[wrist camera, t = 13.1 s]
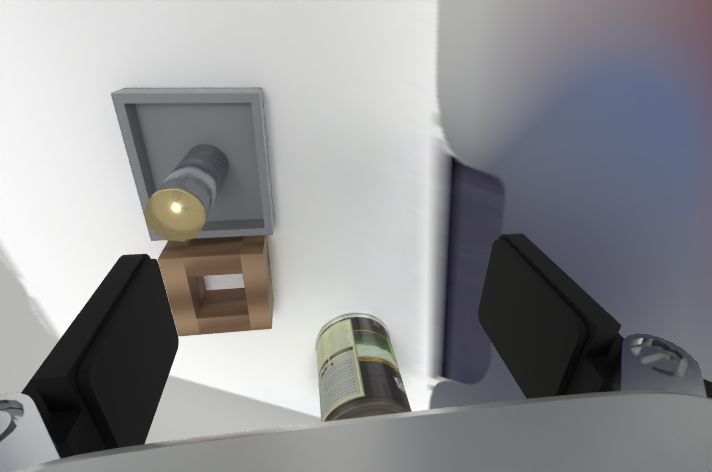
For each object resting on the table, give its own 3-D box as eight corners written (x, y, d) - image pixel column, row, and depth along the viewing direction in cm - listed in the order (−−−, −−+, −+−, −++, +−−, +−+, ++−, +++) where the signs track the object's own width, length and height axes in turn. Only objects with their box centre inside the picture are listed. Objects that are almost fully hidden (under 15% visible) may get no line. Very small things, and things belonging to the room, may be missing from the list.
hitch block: (171, 234, 42) (157, 259, 38) (265, 230, 43) (262, 253, 39) (189, 307, 47) (178, 336, 43) (273, 300, 48) (271, 328, 44)
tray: (124, 87, 35) (110, 93, 32) (261, 87, 36) (259, 92, 34) (159, 226, 41) (151, 240, 39) (274, 221, 43) (273, 234, 40)
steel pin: (182, 144, 37) (138, 191, 26) (225, 143, 37) (199, 189, 27) (189, 183, 39) (151, 242, 28) (231, 182, 39) (208, 240, 29)
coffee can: (387, 306, 51) (417, 396, 39) (390, 361, 56) (416, 456, 44) (309, 318, 50) (315, 414, 38) (319, 373, 56) (327, 472, 43)
